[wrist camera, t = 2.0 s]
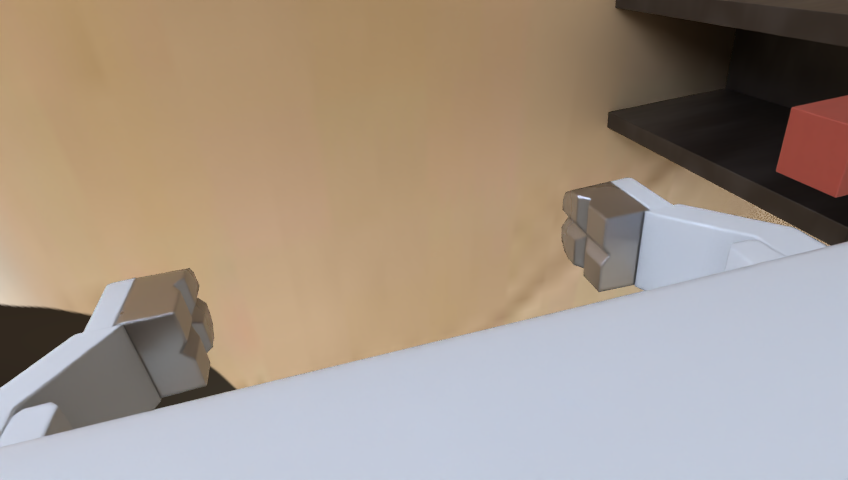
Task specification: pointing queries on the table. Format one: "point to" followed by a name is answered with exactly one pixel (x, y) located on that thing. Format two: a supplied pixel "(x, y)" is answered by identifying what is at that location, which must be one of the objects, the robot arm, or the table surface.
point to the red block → (817, 146)
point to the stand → (753, 103)
